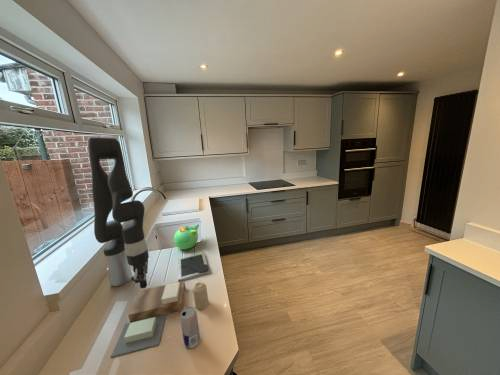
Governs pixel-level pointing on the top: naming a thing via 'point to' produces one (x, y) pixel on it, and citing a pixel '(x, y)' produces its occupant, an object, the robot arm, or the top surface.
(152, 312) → the thick wooden panel
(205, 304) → the candle
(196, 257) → the picture frame
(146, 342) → the mat
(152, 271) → the top surface
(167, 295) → the cream block
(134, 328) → the sage green block
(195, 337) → the energy drink
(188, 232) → the toy bird
